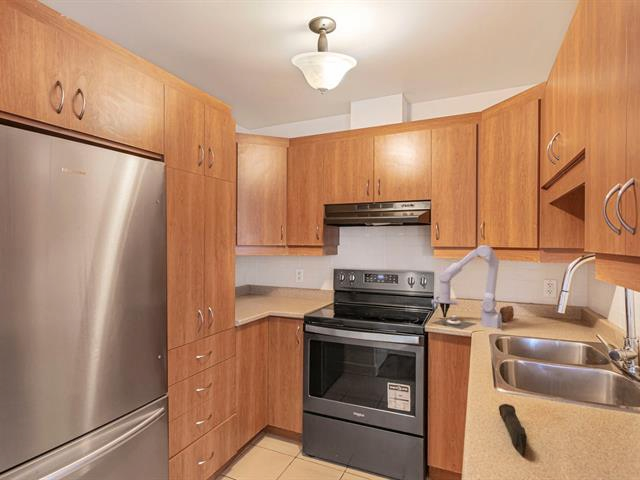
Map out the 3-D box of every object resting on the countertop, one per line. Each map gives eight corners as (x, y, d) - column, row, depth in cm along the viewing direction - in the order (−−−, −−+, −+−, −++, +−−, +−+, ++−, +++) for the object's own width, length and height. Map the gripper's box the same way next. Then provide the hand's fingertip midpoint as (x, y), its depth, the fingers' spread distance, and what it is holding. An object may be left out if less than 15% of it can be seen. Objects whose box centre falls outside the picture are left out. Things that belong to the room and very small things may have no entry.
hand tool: (498, 416, 100) (498, 399, 99) (515, 419, 98) (515, 401, 98) (509, 456, 82) (509, 435, 82) (529, 459, 80) (530, 438, 80)
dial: (460, 325, 197) (460, 319, 197) (446, 323, 200) (447, 317, 200) (460, 320, 208) (460, 314, 208) (447, 319, 210) (447, 313, 210)
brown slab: (504, 323, 209) (504, 308, 209) (498, 322, 211) (498, 307, 211) (514, 319, 219) (514, 305, 219) (508, 318, 222) (508, 304, 222)
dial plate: (477, 325, 202) (477, 323, 202) (462, 331, 189) (462, 328, 189) (446, 320, 214) (446, 318, 214) (430, 325, 202) (430, 322, 202)
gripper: (458, 292, 211) (458, 316, 211) (431, 291, 215) (431, 314, 216) (458, 294, 204) (458, 319, 204) (431, 292, 209) (431, 316, 209)
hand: (444, 316), depth 209 cm, fingers closed
